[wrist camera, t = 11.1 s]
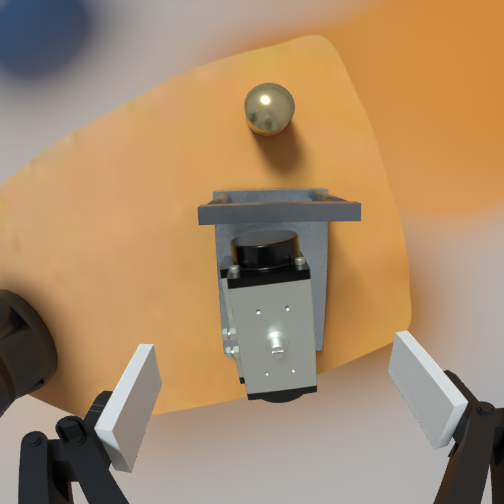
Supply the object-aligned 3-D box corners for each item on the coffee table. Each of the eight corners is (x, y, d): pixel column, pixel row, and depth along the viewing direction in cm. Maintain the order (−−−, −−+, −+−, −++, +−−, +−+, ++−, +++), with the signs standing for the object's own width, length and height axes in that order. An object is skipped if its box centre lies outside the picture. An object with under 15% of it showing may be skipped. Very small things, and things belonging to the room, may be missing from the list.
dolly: (226, 339, 34) (212, 426, 21) (217, 190, 30) (188, 205, 17) (317, 336, 34) (345, 419, 21) (321, 187, 30) (369, 201, 17)
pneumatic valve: (287, 215, 28) (311, 248, 16) (299, 333, 31) (320, 417, 19) (225, 223, 28) (203, 262, 16) (243, 340, 31) (238, 426, 19)
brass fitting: (246, 136, 29) (245, 130, 24) (245, 97, 28) (243, 83, 23) (289, 136, 29) (295, 129, 24) (287, 96, 28) (293, 82, 23)
